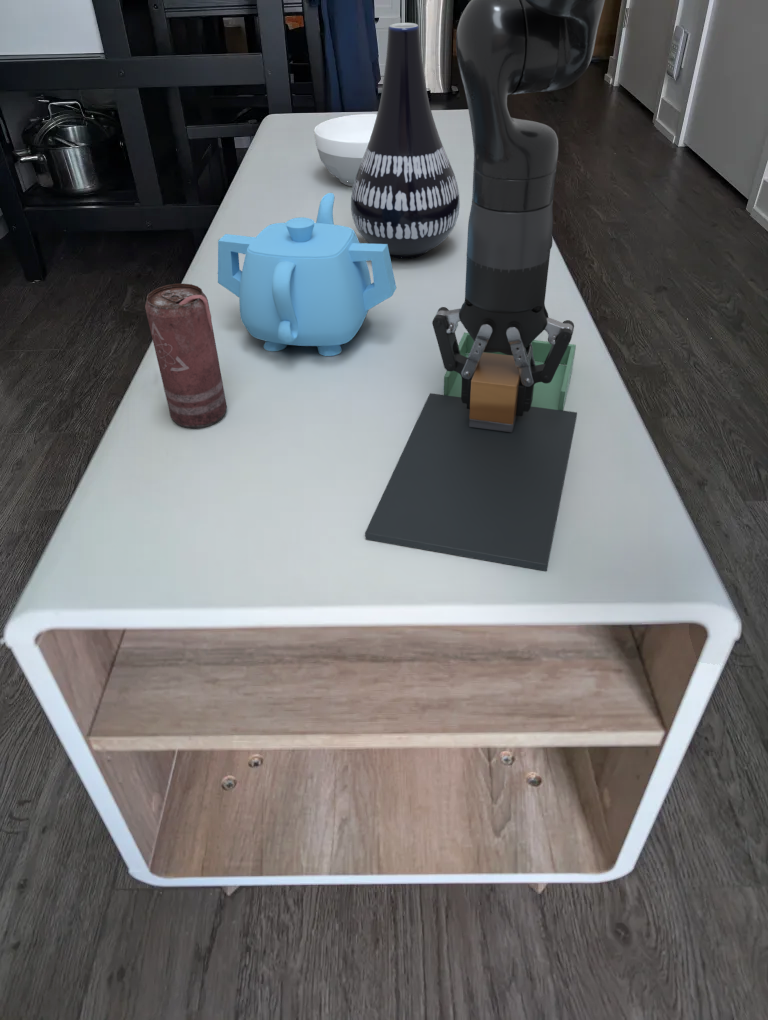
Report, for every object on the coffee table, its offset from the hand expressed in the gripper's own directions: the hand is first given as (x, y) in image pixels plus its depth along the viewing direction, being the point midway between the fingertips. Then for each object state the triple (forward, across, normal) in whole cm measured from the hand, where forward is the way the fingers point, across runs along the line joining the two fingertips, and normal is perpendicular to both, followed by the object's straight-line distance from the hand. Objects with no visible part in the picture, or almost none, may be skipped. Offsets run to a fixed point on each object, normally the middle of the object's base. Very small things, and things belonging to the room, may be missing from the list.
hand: (496, 408), depth 83 cm
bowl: (+2, -37, +74) cm, 83 cm away
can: (+2, -31, -6) cm, 32 cm away
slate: (+2, 0, -9) cm, 9 cm away
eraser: (+1, 0, 0) cm, 1 cm away
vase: (+2, -21, +43) cm, 48 cm away
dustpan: (+2, 0, +13) cm, 13 cm away
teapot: (+2, -26, +16) cm, 30 cm away
